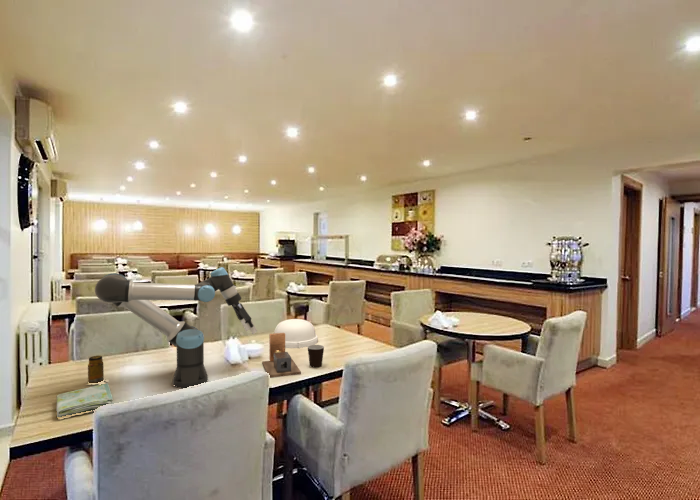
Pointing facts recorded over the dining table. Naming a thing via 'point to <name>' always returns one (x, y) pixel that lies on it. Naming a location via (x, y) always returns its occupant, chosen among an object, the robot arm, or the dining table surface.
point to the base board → (272, 372)
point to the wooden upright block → (276, 344)
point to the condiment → (95, 369)
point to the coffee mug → (315, 355)
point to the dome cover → (297, 333)
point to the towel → (83, 400)
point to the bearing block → (282, 358)
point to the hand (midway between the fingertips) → (251, 331)
